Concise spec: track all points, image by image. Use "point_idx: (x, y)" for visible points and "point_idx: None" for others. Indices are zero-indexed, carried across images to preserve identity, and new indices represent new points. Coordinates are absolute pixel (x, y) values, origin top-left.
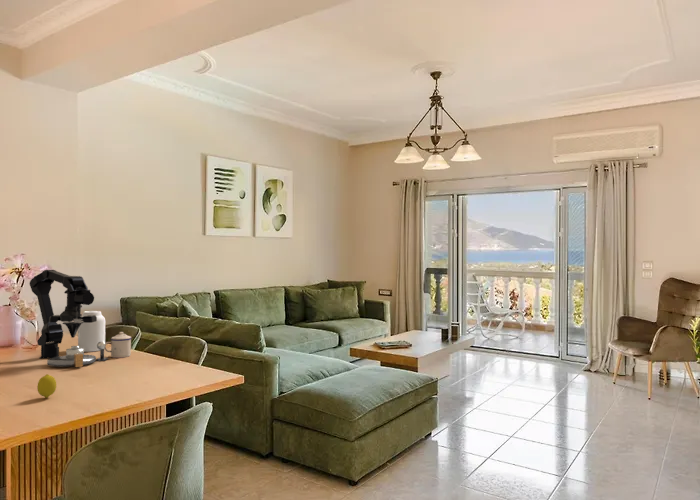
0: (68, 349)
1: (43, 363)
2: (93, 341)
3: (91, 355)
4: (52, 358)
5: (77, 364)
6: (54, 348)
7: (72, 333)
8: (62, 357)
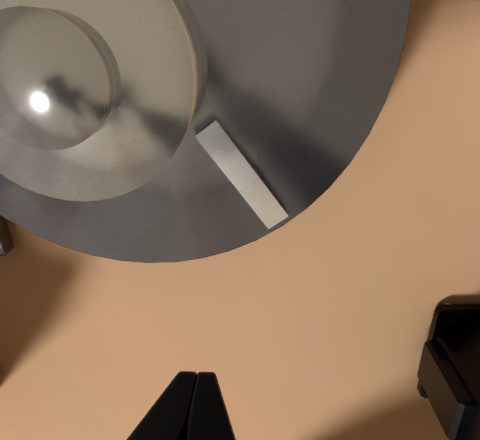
0: (146, 30)
1: (468, 88)
2: None
3: (12, 209)
4: (379, 41)
5: None
6: (477, 393)
7: (172, 438)
8: (279, 105)
